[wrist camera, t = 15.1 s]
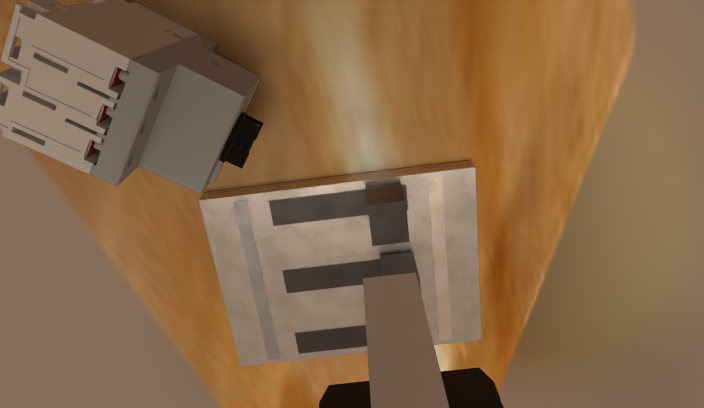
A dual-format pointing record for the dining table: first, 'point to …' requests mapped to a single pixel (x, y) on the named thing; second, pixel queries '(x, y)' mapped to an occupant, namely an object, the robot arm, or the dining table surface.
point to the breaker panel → (342, 256)
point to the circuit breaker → (124, 93)
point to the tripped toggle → (399, 264)
